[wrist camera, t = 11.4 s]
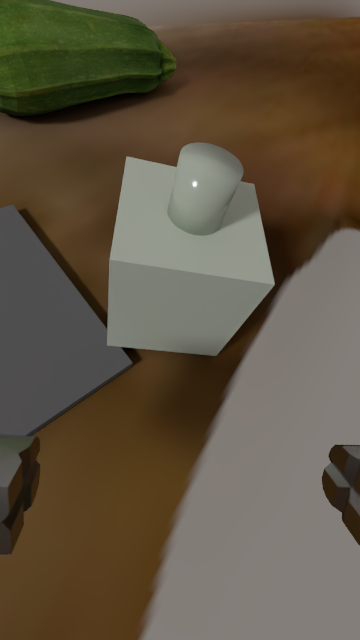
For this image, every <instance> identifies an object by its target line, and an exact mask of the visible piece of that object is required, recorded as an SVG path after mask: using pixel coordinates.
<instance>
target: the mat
mask: <svg viewBox="0 0 360 640" xmlns="http://www.w3.org/2000/svg"><path fill="white" fill-rule="evenodd" d="M132 364H133V363H132V361H131V360H130V359H129V357H128V356H127V355H126V353H125V352H124V351H123V350H122V348H121V347H117V346H107V328H106V327H105V326H104V324H103V323H102V322H101V320H100V319H99V318H98V317H97V315H96V314H95V313H94V311H93V310H92V309H91V307H90V306H89V305H88V303H87V302H86V301H85V299H84V298H83V297H82V295H81V294H80V293H79V291H78V290H77V289H76V287H75V286H74V285H73V283H72V282H71V281H70V280H69V278H68V277H67V276H66V274H65V273H64V272H63V270H62V269H61V268H60V266H59V265H58V264H57V262H56V261H55V260H54V258H53V257H52V256H51V254H50V253H49V252H48V250H47V249H46V248H45V247H44V245H43V244H42V243H41V241H40V240H39V239H38V237H37V236H36V235H35V233H34V232H33V231H32V229H31V228H30V227H29V225H28V224H27V223H26V221H25V220H24V219H23V217H22V216H21V215H20V213H19V212H18V211H17V210H16V208H15V207H14V206H13V204H12V205H9V206H6V207H3V208H0V434H3V435H23V436H31V435H32V434H34V433H35V432H37V431H38V430H40V429H41V428H43V427H44V426H46V425H47V424H49V423H50V422H52V421H53V420H54V419H56V418H57V417H59V416H60V415H62V414H63V413H65V412H66V411H68V410H69V409H71V408H72V407H74V406H75V405H76V404H78V403H79V402H81V401H82V400H84V399H85V398H87V397H88V396H90V395H91V394H93V393H94V392H96V391H97V390H98V389H100V388H101V387H103V386H104V385H106V384H107V383H109V382H110V381H112V380H113V379H115V378H116V377H117V376H119V375H120V374H122V373H123V372H125V371H126V370H128V369H129V368H131V367H132Z"/></svg>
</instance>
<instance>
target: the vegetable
mask: <svg viewBox="0 0 360 640" xmlns="http://www.w3.org/2000/svg"><path fill="white" fill-rule="evenodd" d="M176 62H177V59H176V58H175V57H173V55H172V52H171V51H170V50H169V49H167V48H166V47H165V46H164V45H163V43H162V42H161V41H160V40H159V39H158V38H157V36H156V34H155V33H154V32H153V31H152V30H150V29H149V28H147V27H146V26H145V24H143V23H142V22H140V21H139V20H138V19H135V18H132V17H129V16H125V15H120V14H114V13H109V12H103V11H98V10H92V9H87V8H81V7H76V6H71V5H67V4H63V3H59V2H54V1H50V0H0V112H2V113H5V114H9V115H12V116H33V115H41V114H45V113H49V112H53V111H57V110H60V109H64V108H67V107H71V106H75V105H78V104H82V103H86V102H89V101H93V100H96V99H101V98H106V97H110V96H113V95H117V94H123V93H147V92H150V91H153V90H154V89H155V88H156V87H157V85H158V84H159V83H161V82H165V81H166V80H167V79H169V78H171V77H172V76H173V75H174V71H175V70H176V68H177V67H176Z"/></svg>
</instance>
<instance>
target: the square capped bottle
mask: <svg viewBox="0 0 360 640" xmlns="http://www.w3.org/2000/svg"><path fill="white" fill-rule="evenodd" d="M242 176H243V167H242V165H241V163H240V161H239V160H238V159H237V158H236V157H235V156H234V155H233V154H231V153H230V152H228V151H227V150H225V149H223V148H221V147H218V146H215V145H212V144H208V143H191V144H188V145H186V146H184V147H183V148H182V150H181V152H180V156H179V160H178V164H177V167H173V166H168V165H164V164H159V163H154V162H150V161H145V160H141V159H136V158H132V157H127V158H126V164H125V170H124V176H123V182H122V188H121V194H120V200H119V206H118V212H117V218H116V224H115V230H114V236H113V242H112V248H111V254H110V263H109V295H108V327H107V346H117V347H128V348H138V349H148V350H159V351H169V352H180V353H190V354H200V355H211V356H217V355H218V353H219V352H220V351H221V350H222V348H223V347H224V346H225V345H226V344H227V342H228V341H229V340H230V339H231V337H232V336H233V335H234V334H235V333H236V331H237V330H238V329H239V328H240V327H241V325H242V324H243V323H244V322H245V320H246V319H247V318H248V317H249V316H250V314H251V313H252V312H253V311H254V309H255V308H256V307H257V306H258V305H259V303H260V302H261V301H262V300H263V299H264V297H265V296H266V295H267V294H268V292H269V291H270V290H271V289H272V288H273V286H274V285H275V283H274V278H273V273H272V269H271V264H270V259H269V254H268V249H267V245H266V240H265V235H264V230H263V225H262V221H261V216H260V211H259V206H258V201H257V196H256V192H255V187H254V184H250V183H246V182H241V181H240V180H241V178H242Z"/></svg>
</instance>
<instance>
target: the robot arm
mask: <svg viewBox="0 0 360 640" xmlns="http://www.w3.org/2000/svg"><path fill="white" fill-rule="evenodd" d="M39 451H40V440H39V438H38V437H37V436H23V435H3V434H0V555H11V554H12V551H13V549H14V547H15V544H16V542H17V540H18V537H19V535H20V532H21V530H22V528H23V525H24V512H25V511H27V510H28V509H29V508H30V507H31V506H32V503H33V501H34V498H35V496H36V492H37V488H38V484H39V478H40V464H39V463H38V461H37V460H36V457H37V455H38V453H39ZM329 458H330V461H331V463H330V464H329V465H328V466H327V467H326V468H325V469H324V472H323V476H322V484H323V490H324V492H325V495H326V497H327V499H328V500H329V502H330V503H331V505H332V506H334V507H335V508H336V509H338V510H339V511H340V512H342V521H343V522H344V524H345V525H346V527H347V528H348V530H349V531H350V533H351V534H352V535H353V537H354V539H355V540H356V541H357V543H358V544H359V545H360V445H334V447H332V448H331V450H330V453H329Z"/></svg>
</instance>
